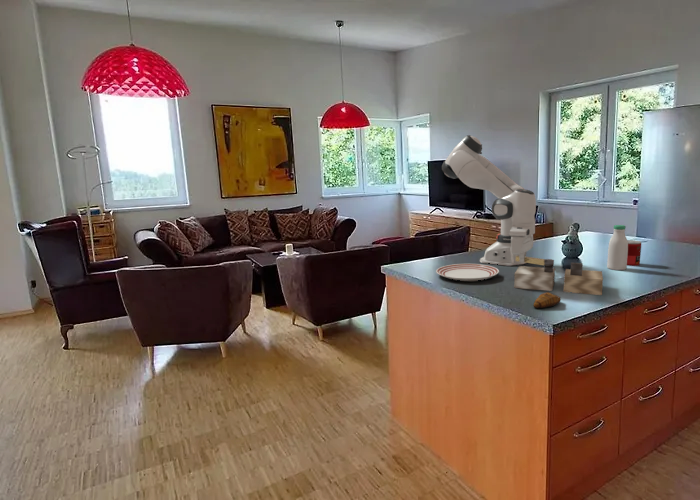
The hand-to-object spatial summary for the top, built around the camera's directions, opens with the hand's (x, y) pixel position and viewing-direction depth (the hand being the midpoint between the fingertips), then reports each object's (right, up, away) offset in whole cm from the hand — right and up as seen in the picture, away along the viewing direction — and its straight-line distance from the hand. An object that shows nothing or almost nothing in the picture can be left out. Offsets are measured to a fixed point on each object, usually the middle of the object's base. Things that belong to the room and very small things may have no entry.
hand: (522, 262), depth 188 cm
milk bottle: (+51, -4, +20) cm, 55 cm away
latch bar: (+4, -1, -2) cm, 5 cm away
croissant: (-2, -15, -29) cm, 33 cm away
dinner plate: (-19, -7, +16) cm, 26 cm away
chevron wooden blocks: (+12, -10, -7) cm, 17 cm away
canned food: (+62, -2, +28) cm, 68 cm away
